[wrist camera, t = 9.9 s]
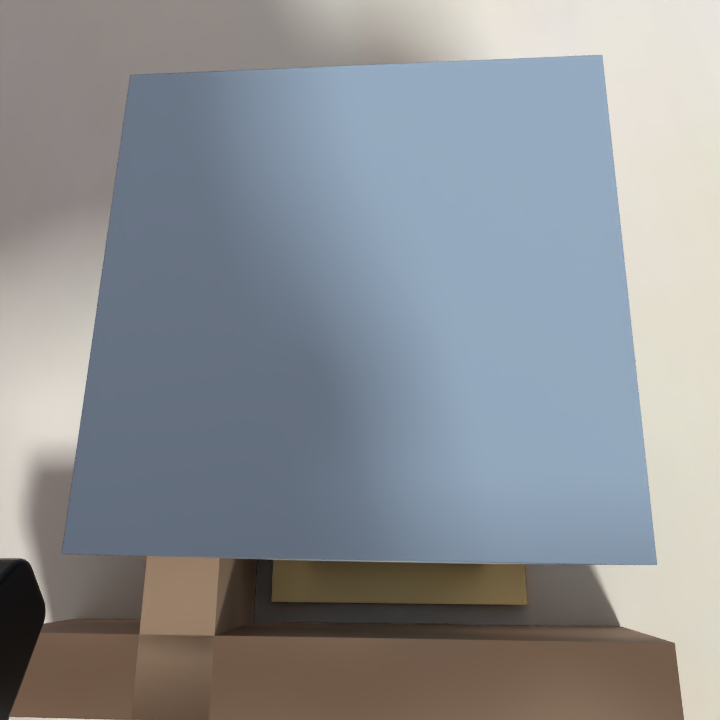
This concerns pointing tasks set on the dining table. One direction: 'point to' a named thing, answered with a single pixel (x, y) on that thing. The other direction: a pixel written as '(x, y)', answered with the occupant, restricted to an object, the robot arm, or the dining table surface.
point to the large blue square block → (365, 322)
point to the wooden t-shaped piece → (340, 653)
